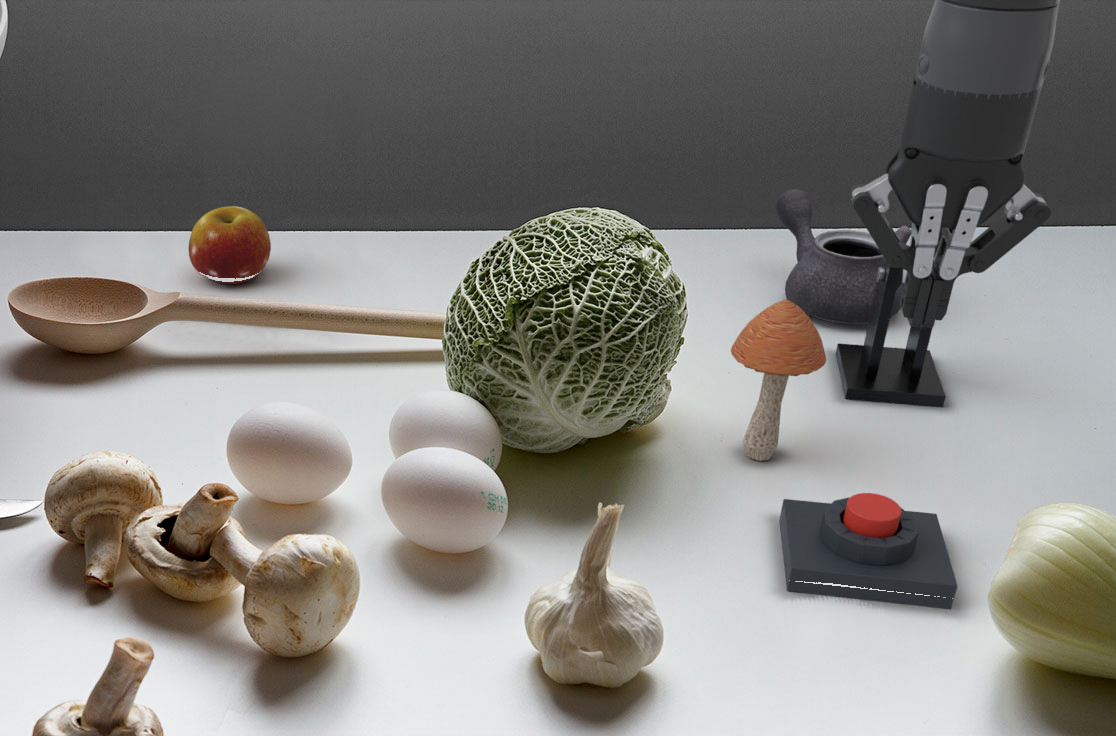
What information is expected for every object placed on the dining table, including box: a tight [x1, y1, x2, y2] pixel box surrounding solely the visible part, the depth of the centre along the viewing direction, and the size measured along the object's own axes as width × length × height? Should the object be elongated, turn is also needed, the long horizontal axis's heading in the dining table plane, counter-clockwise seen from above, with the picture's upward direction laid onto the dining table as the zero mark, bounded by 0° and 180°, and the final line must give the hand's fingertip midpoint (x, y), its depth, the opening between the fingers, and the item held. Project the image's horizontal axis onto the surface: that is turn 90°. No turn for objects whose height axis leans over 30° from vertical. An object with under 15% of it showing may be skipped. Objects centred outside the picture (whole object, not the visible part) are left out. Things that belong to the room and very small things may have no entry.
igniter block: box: [778, 496, 958, 610], centre depth 102 cm, size 12×10×4 cm
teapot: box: [775, 188, 911, 325], centre depth 143 cm, size 19×15×10 cm
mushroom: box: [730, 298, 827, 462], centre depth 113 cm, size 8×8×15 cm
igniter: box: [843, 492, 902, 538], centre depth 100 cm, size 4×4×2 cm
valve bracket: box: [835, 256, 947, 408], centre depth 125 cm, size 10×9×13 cm
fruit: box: [188, 205, 272, 285], centre depth 150 cm, size 10×9×8 cm
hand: (918, 322), depth 91 cm, fingers closed
